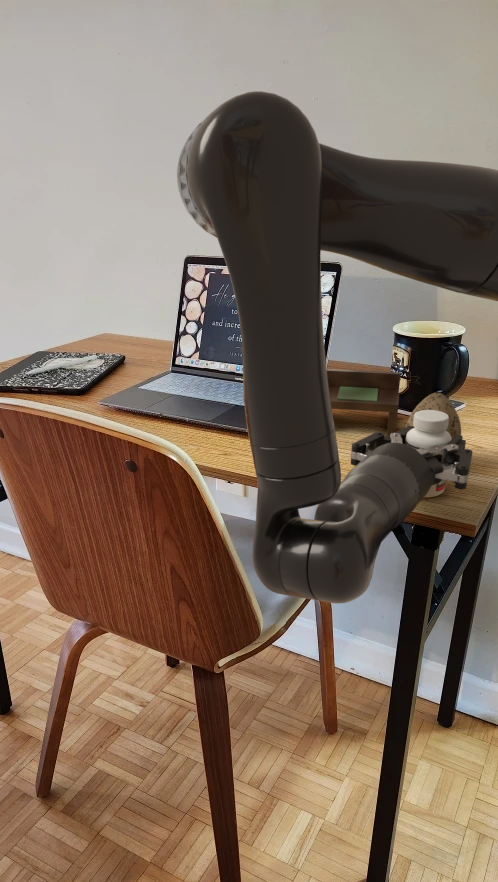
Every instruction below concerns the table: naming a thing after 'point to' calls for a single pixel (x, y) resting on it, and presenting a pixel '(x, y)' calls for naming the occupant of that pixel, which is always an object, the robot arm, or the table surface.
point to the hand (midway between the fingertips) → (434, 437)
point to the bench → (366, 392)
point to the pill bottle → (429, 437)
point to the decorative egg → (439, 404)
